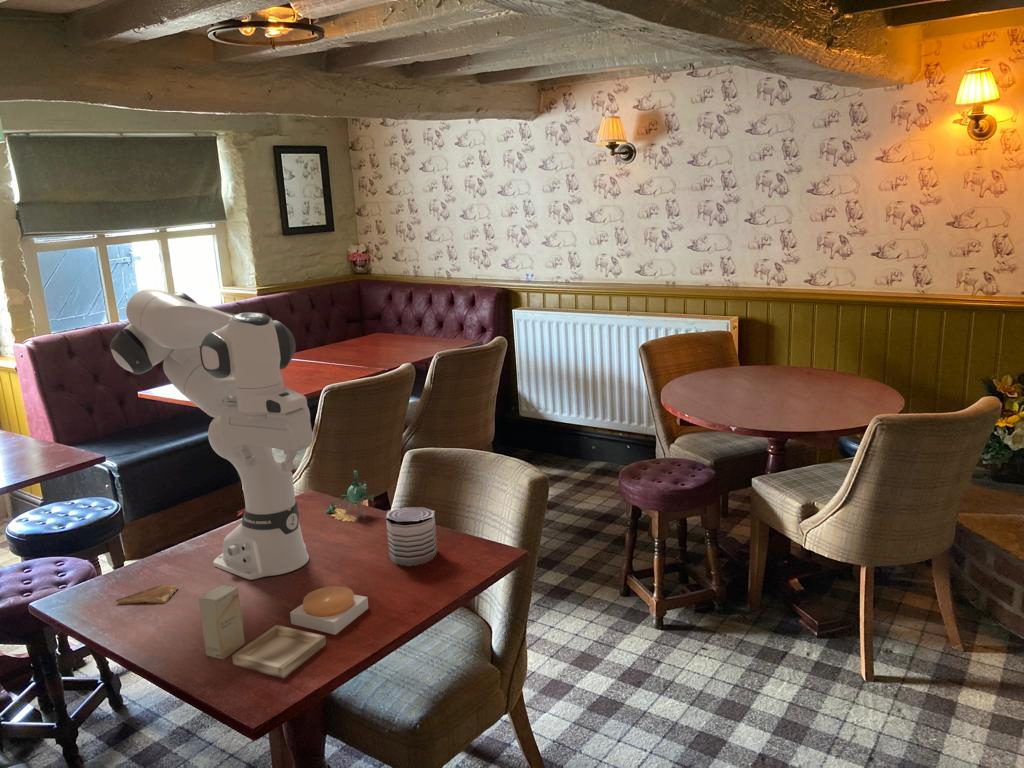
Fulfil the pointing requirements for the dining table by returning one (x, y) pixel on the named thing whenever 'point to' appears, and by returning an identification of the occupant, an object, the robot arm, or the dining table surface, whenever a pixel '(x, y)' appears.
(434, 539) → the can
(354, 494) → the frog figurine
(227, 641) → the skincare box
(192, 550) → the dining table surface
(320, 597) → the button
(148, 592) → the shard
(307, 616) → the white square base
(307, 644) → the beige soap dish
